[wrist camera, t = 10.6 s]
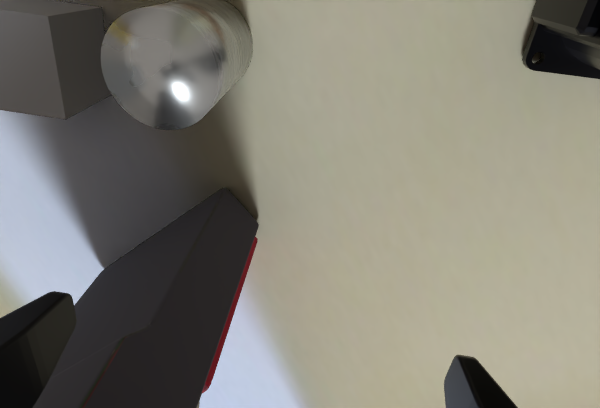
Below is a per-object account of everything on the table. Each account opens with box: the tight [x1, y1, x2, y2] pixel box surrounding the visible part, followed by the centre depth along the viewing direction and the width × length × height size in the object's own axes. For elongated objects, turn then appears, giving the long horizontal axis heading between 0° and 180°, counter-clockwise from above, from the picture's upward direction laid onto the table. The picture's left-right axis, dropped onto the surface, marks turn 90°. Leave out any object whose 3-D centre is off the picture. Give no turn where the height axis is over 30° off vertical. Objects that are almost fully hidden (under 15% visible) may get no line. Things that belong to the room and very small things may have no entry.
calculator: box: [33, 188, 259, 408], centre depth 19 cm, size 11×4×15 cm, turn 127°
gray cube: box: [0, 0, 111, 120], centre depth 18 cm, size 4×4×4 cm
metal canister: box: [101, 0, 253, 130], centre depth 17 cm, size 4×4×6 cm
